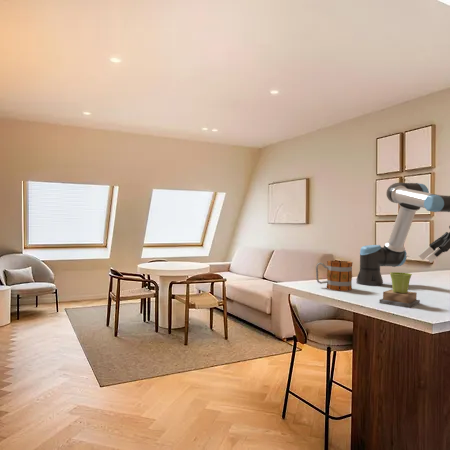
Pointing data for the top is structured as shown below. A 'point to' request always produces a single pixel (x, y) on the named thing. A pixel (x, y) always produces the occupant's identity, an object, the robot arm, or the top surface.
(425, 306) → the top surface
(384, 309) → the top surface
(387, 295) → the plinth
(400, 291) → the plant pot
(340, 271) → the mug
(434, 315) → the top surface
